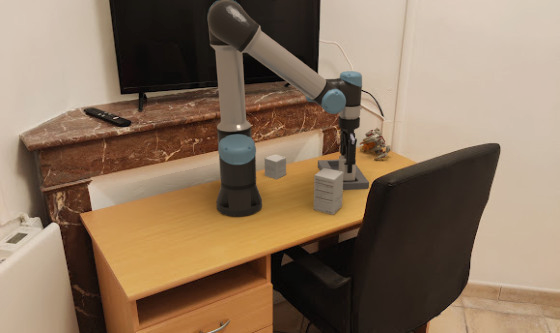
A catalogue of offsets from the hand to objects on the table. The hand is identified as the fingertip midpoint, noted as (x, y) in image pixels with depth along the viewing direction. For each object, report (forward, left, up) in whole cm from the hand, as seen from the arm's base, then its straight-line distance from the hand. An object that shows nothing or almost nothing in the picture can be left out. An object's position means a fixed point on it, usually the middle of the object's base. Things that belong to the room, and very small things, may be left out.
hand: (346, 177), depth 173 cm
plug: (0, 0, 0) cm, 0 cm away
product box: (-25, +11, -3) cm, 28 cm away
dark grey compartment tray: (0, +6, -2) cm, 6 cm away
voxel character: (+18, +26, -3) cm, 32 cm away
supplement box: (-11, -19, -3) cm, 22 cm away
